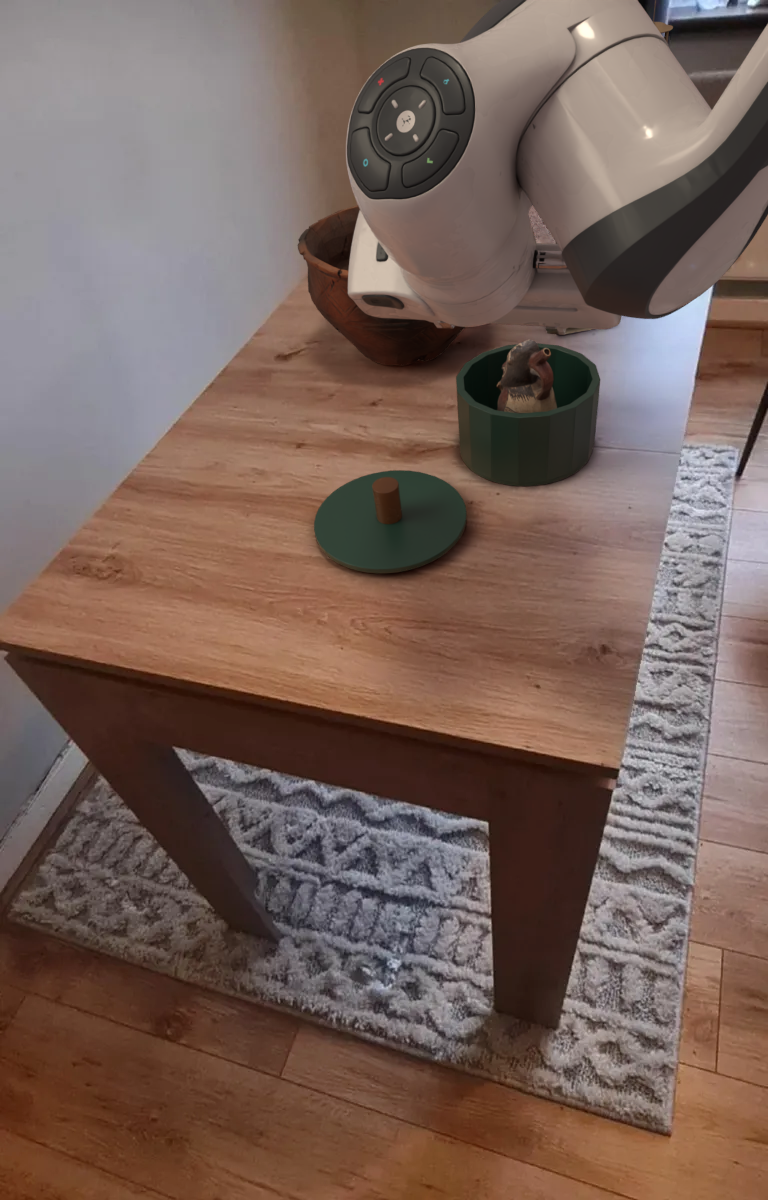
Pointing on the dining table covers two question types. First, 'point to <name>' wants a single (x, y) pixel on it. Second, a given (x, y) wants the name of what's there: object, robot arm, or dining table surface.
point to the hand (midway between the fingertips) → (501, 322)
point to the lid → (390, 521)
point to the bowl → (329, 293)
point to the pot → (527, 421)
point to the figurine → (527, 380)
